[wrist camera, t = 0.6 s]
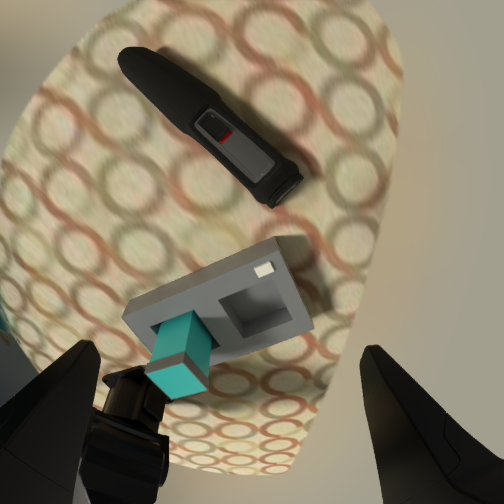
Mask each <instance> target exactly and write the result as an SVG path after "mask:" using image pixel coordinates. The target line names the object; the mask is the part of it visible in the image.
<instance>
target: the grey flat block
mask: <svg viewBox="0 0 504 504" xmlns="http://www.w3.org/2000/svg"><path fill="white" fill-rule="evenodd" d="M191 310H195V312H196V313H197V315H198V316H199V317H200V319H201V320H202V322H203V323H204V324H205V326H206V327H207V329H208V330H209V331H210V333H211V334H212V342H211V353H210V364H209V367H210V366H213V365H216V364H219V363H222V362H225V361H228V360H232V359H235V358H237V357H240V356H243V355H246V354H249V353H252V352H255V351H258V350H261V349H263V348H266V347H269V346H272V345H274V344H277V343H280V342H282V341H285V340H287V339H290V338H293V337H295V336H298V335H300V334H303V333H305V332H308V331H310V330H313V329H315V328H314V325H313V322H312V319H311V316H310V313H309V310H308V308H307V306H306V303H305V301H304V299H303V297H302V294H301V292H300V290H299V288H298V286H297V283H296V281H295V279H294V277H293V275H292V273H291V270H290V268H289V266H288V264H287V262H286V260H285V257H284V255H283V253H282V251H281V249H280V247H279V245H278V242H277V240H276V238H275V236H274V237H272V238H269V239H267V240H265V241H263V242H260V243H258V244H256V245H254V246H251V247H249V248H247V249H245V250H242V251H240V252H238V253H235V254H233V255H231V256H229V257H226V258H224V259H222V260H220V261H217V262H215V263H213V264H211V265H208V266H206V267H204V268H202V269H199V270H197V271H195V272H193V273H190V274H188V275H186V276H184V277H181V278H179V279H177V280H175V281H172V282H170V283H168V284H166V285H163V286H161V287H159V288H157V289H155V290H152V291H150V292H148V293H146V294H143V295H141V296H139V297H137V298H134V299H132V300H130V301H129V303H128V305H127V307H126V309H125V311H124V313H123V315H122V317H121V318H122V319H123V320H124V321H125V323H126V324H127V325H128V326H129V328H130V329H131V330H132V331H133V332H134V334H135V335H136V336H137V337H138V338H139V339H140V341H141V342H142V343H143V344H144V345H145V346H146V348H147V349H148V350H149V351H150V352H151V353H152V352H153V349H154V345H155V342H156V339H157V335H158V332H159V329H160V326H161V323H162V322H163V321H166V320H168V319H171V318H174V317H176V316H179V315H181V314H184V313H186V312H189V311H191Z"/></svg>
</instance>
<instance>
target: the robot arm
mask: <svg viewBox="0 0 504 504" xmlns="http://www.w3.org/2000/svg"><path fill="white" fill-rule="evenodd" d="M100 364H101V357H100V354H99V353H98V351H97V349H96V347H95V345H94V343H93V342H92V341H91V340H84V339H82V340H80V341H79V342H77V343H76V344H75V345H74V346H72V347H71V348H70V349H69V350H68V351H66V352H65V353H64V354H63V355H62V356H60V357H59V358H58V359H57V360H55V361H54V362H53V363H52V364H51V365H49V366H48V367H47V368H46V369H45V370H43V371H42V372H41V373H40V374H39V375H38V376H36V377H35V378H34V379H33V380H32V381H30V383H28V384H27V385H26V386H25V387H23V388H22V389H21V390H20V391H19V392H18V393H17V394H15V396H13V397H12V398H11V399H10V400H8V401H7V402H6V403H5V404H4V405H2V406H1V407H0V504H72V502H73V495H74V494H73V493H74V488H75V482H76V476H77V471H78V466H79V460H80V459H82V461H81V465H80V469H79V477H80V480H81V483H82V486H83V489H84V492H85V495H86V498H87V500H88V504H154V503H155V501H156V498H157V492H158V488H159V487H162V486H163V484H164V482H165V480H166V477H167V473H168V468H169V436H167V435H161V434H158V428H159V423H160V422H161V421H162V419H163V413H164V408H165V404H169V403H172V402H173V400H171V399H170V398H169V397H168V396H167V395H166V394H165V393H164V392H163V391H162V390H161V389H160V388H159V387H157V386H156V385H155V384H154V383H153V382H152V381H151V380H150V379H149V378H148V377H147V376H146V374H145V373H144V372H145V369H144V368H142V367H140V366H138V367H134V368H131V369H127V370H124V371H120V372H117V373H113V374H110V375H106V376H103V378H102V381H103V382H104V383H105V384H106V385H107V386H108V387H109V388H110V390H109V393H108V396H107V398H106V401H105V404H104V407H103V410H102V411H100V410H98V409H97V408H95V407H93V406H92V405H93V401H94V397H95V392H96V386H97V380H98V374H99V369H100ZM360 375H361V382H362V390H363V398H364V407H365V412H366V417H367V421H368V426H369V430H370V435H371V439H372V444H373V449H374V454H375V459H376V464H377V469H378V474H379V480H380V486H381V492H382V498H383V504H504V459H501V458H499V457H497V456H496V455H495V454H493V453H492V452H491V451H490V450H489V449H487V448H486V447H485V446H484V445H482V444H481V443H480V442H479V441H477V440H476V439H475V438H473V436H471V435H470V434H469V433H468V432H467V431H466V430H464V429H463V428H462V427H461V426H460V425H459V424H458V423H457V422H456V421H455V420H454V419H453V418H452V417H451V416H450V415H449V414H448V413H446V411H445V410H444V409H443V408H442V407H441V406H440V405H439V404H438V403H437V402H436V401H435V400H434V399H433V398H432V397H431V396H430V395H429V394H428V393H427V392H426V391H425V390H424V389H423V388H422V387H421V386H420V385H419V384H418V383H417V382H416V381H415V380H414V379H413V378H412V377H411V376H410V375H409V374H408V373H407V372H406V371H405V370H404V369H403V368H402V367H401V366H400V365H399V364H398V363H397V362H396V361H395V360H394V359H393V358H392V357H391V356H390V355H389V354H388V353H387V352H386V351H385V350H383V348H382V347H380V346H379V345H368V346H366V348H365V349H364V352H363V355H362V358H361V360H360Z"/></svg>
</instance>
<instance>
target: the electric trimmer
mask: <svg viewBox="0 0 504 504" xmlns="http://www.w3.org/2000/svg"><path fill="white" fill-rule="evenodd" d="M117 60H118V64H119V66H120V68H121V70H122V72H123V74H124V75H125V76H126V77H127V78H128V80H129V81H131V82H132V83H133V84H134V85H135V86H136V87H137V88H138V89H139V90H140V91H141V92H142V93H143V94H144V95H145V96H146V97H147V98H148V99H149V100H150V101H151V102H152V103H153V104H154V105H155V106H156V107H157V108H158V109H159V110H160V111H161V112H162V113H163V114H164V115H165V116H166V117H167V118H168V119H169V120H170V121H171V122H172V123H173V124H174V125H175V126H176V127H177V128H179V129H180V130H181V131H182V132H183V133H185V134H187V135H189V136H191V137H192V138H193V139H195V140H196V141H197V142H198V143H200V144H201V145H202V146H203V147H204V148H205V149H206V150H208V151H209V152H210V153H211V154H212V155H213V156H214V157H215V158H216V159H217V160H218V161H219V162H220V163H221V164H222V165H223V166H224V167H225V168H227V169H228V170H229V171H230V172H231V173H232V174H233V175H234V176H235V177H236V178H237V179H238V180H239V181H240V182H241V183H242V184H243V185H244V186H245V187H246V188H247V189H248V190H249V191H250V192H251V193H252V195H253V196H254V198H255V199H256V200H257V201H258V202H260V203H262V204H267V205H268V206H269V207H270V208H271V209H273V208H274V207H275V206H276V205H277V204H278V203H279V202H280V201H281V200H282V199H283V198H284V197H285V196H286V195H287V194H288V193H289V192H290V191H291V190H293V189H294V188H295V187H296V186H297V185H298V184H299V183H300V182H301V181H302V180H303V179H304V177H303V176H302V175H301V174H300V173H299V168H298V166H297V165H296V164H295V163H294V162H292V161H290V160H288V159H286V158H285V157H284V156H283V155H282V154H280V153H279V152H278V151H277V150H276V149H275V148H274V147H272V146H271V145H270V144H269V143H268V142H267V141H265V140H264V139H263V138H262V137H261V136H260V135H258V134H257V133H256V132H255V131H254V130H253V129H252V128H250V127H249V126H248V125H247V124H246V123H245V122H243V121H242V120H241V119H240V118H239V117H238V116H237V115H236V114H235V113H234V112H233V111H231V110H230V109H229V108H228V107H227V106H226V105H225V103H224V102H223V101H222V100H221V98H220V96H219V95H218V94H217V92H216V91H214V90H213V89H212V88H210V87H209V86H208V85H206V84H205V83H203V82H202V81H200V80H199V79H197V78H196V77H194V76H193V75H191V74H190V73H188V72H187V71H185V70H183V69H182V68H180V67H179V66H177V65H176V64H174V63H172V62H171V61H169V60H168V59H166V58H164V57H163V56H161V55H159V54H157V53H156V52H154V51H152V50H150V49H148V48H145V47H127V48H125V49H123V50H122V51H121V52H120V53H119V55H118V58H117ZM273 194H274V195H273Z"/></svg>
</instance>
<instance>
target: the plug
mask: <svg viewBox="0 0 504 504" xmlns="http://www.w3.org/2000/svg"><path fill="white" fill-rule="evenodd" d="M211 342H212V334H211V333H210V331H209V330H208V329H207V327H206V326H205V324H204V323H203V322H202V320H201V319H200V317H199V316H198V315H197V313H196V312H195V310H191V311H189V312H186V313H184V314H181V315H179V316H176V317H174V318H171V319H168V320H166V321H163V322H162V323H161V326H160V329H159V332H158V335H157V339H156V342H155V345H154V349H153V352H152V355H151V359H150V362H149V363H147V366H146V369H145V372H144V373H145V374H146V376H147V377H148V378H149V379H150V380H151V381H152V382H153V383H154V384H155V385H156V386H157V387H159V388H160V389H161V390H162V391H163V392H164V393H165V394H166V395H167V396H168V397H169V398H170V399H171V400H173V399H177V398H181V397H185V396H190V395H194V394H197V393H201V392H205V391H209V386H210V380H209V379H208V376H209V364H210V353H211Z"/></svg>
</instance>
